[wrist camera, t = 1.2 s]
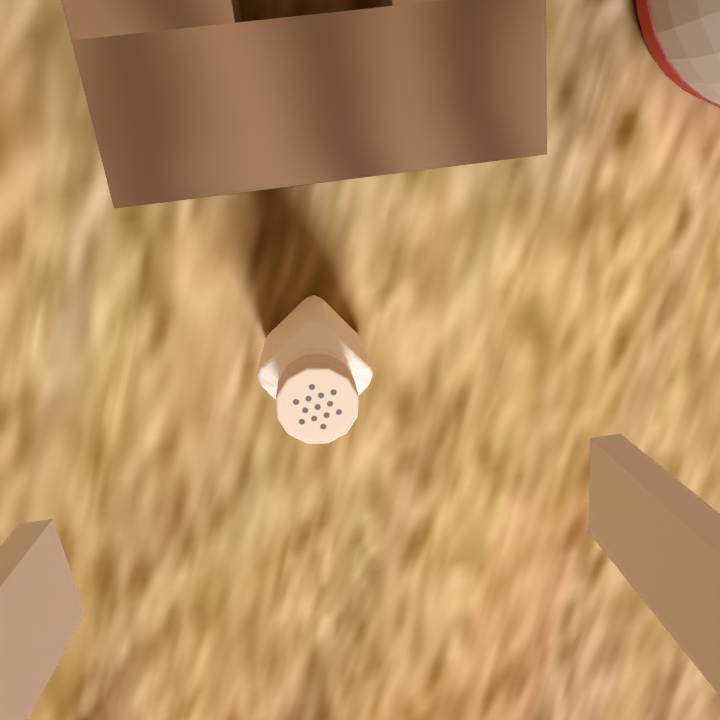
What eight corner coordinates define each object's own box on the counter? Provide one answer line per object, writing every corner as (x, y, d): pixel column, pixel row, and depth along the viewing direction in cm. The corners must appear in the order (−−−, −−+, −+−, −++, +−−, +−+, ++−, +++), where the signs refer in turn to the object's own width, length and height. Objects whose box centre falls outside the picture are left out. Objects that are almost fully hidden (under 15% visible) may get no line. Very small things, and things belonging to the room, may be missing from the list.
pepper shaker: (313, 388, 30) (317, 473, 21) (260, 339, 29) (241, 407, 20) (365, 339, 30) (391, 406, 21) (313, 287, 29) (318, 334, 20)
